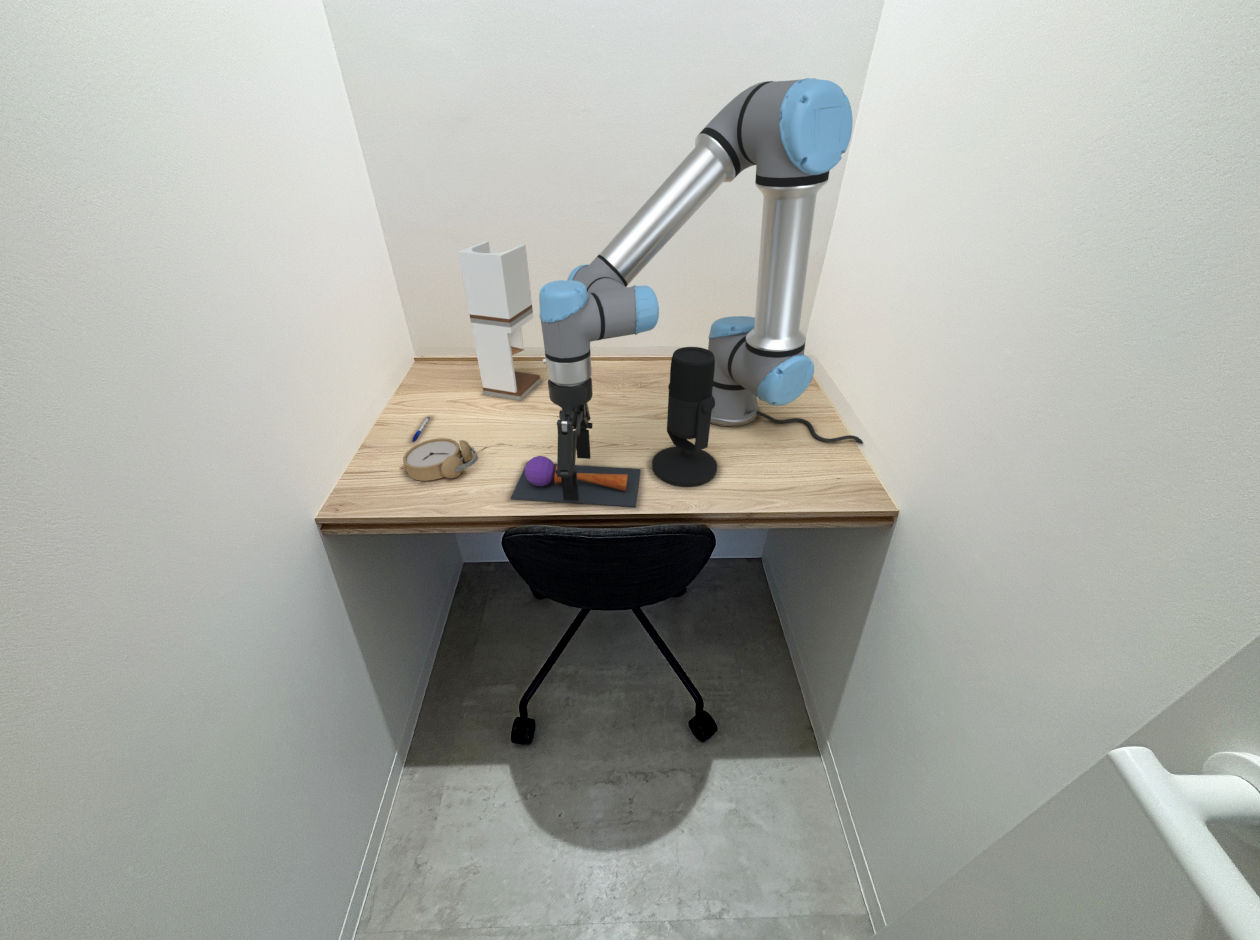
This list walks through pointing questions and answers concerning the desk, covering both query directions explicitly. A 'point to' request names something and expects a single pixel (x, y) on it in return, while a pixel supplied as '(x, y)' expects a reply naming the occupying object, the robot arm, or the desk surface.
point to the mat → (583, 489)
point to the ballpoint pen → (420, 430)
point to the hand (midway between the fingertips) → (577, 477)
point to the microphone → (688, 420)
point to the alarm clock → (438, 459)
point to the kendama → (543, 473)
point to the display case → (498, 315)
